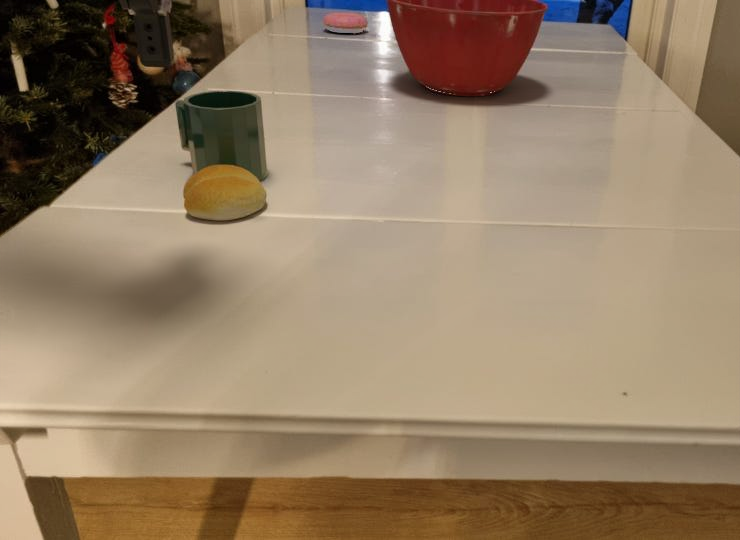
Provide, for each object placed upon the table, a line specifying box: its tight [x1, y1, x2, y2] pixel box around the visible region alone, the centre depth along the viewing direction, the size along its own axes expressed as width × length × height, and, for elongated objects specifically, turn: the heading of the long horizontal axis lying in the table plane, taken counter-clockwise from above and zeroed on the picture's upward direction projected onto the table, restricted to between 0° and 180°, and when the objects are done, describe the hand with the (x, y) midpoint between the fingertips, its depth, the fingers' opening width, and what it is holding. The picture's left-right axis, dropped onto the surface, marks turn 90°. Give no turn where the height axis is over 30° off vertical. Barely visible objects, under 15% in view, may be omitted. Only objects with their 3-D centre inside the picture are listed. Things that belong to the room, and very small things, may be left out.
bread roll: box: [182, 165, 268, 222], centre depth 75 cm, size 8×9×4 cm
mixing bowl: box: [386, 0, 549, 97], centre depth 126 cm, size 28×28×15 cm
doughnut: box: [322, 11, 369, 35], centre depth 175 cm, size 11×11×4 cm
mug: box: [175, 90, 268, 182], centre depth 83 cm, size 12×8×9 cm
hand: (158, 64), depth 55 cm, fingers closed
